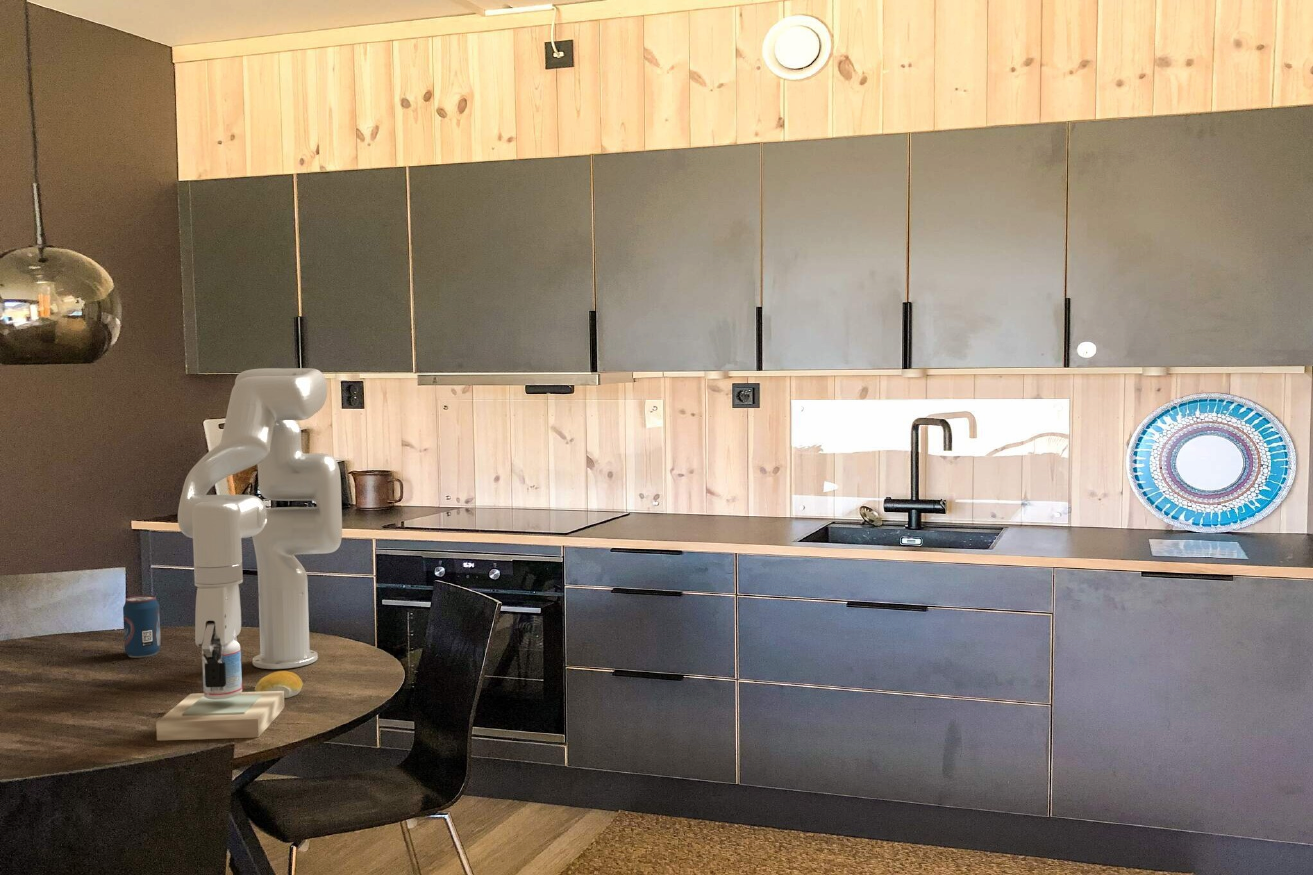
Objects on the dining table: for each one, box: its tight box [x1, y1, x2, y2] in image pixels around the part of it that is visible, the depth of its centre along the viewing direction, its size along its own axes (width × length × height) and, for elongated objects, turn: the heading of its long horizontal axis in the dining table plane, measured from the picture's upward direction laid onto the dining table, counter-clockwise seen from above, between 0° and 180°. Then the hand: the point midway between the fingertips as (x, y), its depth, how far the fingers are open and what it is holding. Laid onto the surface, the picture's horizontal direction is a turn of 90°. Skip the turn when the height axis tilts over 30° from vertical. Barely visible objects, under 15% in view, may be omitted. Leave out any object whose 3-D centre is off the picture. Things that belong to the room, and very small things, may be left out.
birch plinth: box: [155, 691, 285, 741], centre depth 189 cm, size 16×16×3 cm
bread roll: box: [254, 670, 304, 699], centre depth 207 cm, size 8×9×4 cm
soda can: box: [122, 594, 162, 659], centre depth 236 cm, size 7×7×12 cm
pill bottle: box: [201, 630, 243, 699], centre depth 188 cm, size 6×6×11 cm
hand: (222, 679), depth 188 cm, fingers closed on pill bottle, 6 cm apart
